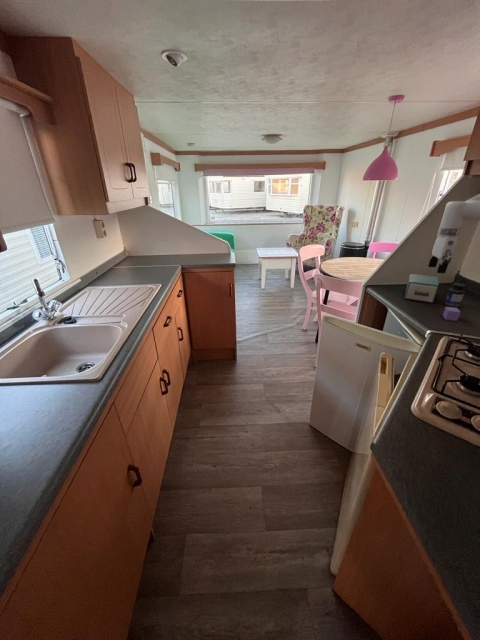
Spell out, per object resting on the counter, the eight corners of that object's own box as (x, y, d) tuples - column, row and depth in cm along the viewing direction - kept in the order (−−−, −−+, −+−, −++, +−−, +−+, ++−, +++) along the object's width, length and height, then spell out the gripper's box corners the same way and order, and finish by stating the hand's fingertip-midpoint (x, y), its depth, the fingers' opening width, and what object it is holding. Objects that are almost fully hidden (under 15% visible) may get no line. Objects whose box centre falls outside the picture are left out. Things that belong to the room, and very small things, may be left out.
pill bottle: (443, 302, 135) (450, 281, 130) (458, 304, 133) (466, 283, 127) (444, 306, 131) (452, 285, 126) (459, 308, 128) (468, 287, 123)
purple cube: (454, 316, 121) (457, 307, 119) (457, 320, 117) (460, 311, 115) (442, 315, 122) (445, 306, 120) (445, 319, 119) (448, 310, 117)
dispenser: (432, 303, 135) (438, 285, 130) (404, 298, 140) (409, 281, 136) (432, 293, 146) (437, 276, 141) (405, 289, 152) (410, 273, 147)
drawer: (432, 305, 130) (437, 290, 126) (405, 301, 135) (409, 287, 132) (431, 293, 144) (435, 279, 140) (407, 289, 149) (410, 276, 146)
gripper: (468, 235, 108) (454, 275, 116) (448, 229, 123) (437, 265, 131) (448, 235, 110) (435, 275, 117) (430, 228, 125) (420, 264, 132)
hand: (436, 269), depth 124 cm, fingers open, 9 cm apart
